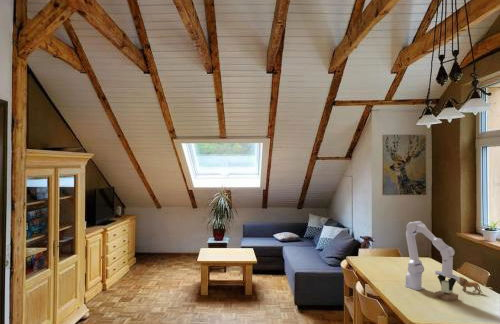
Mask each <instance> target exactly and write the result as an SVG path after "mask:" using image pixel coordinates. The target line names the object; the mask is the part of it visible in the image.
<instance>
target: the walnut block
mask: <svg viewBox="0 0 500 324" xmlns="http://www.w3.org/2000/svg"><path fill="white" fill-rule="evenodd" d="M434 295H435V297H434V298H437V299H440V300H443V301H445V302H448V303H450V302H454V301H458V300H459V294H458V293H455V292H451V293H446V292H443V291H441V290H438V291H435V293H434Z"/></svg>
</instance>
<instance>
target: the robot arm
mask: <svg viewBox="0 0 500 324" xmlns="http://www.w3.org/2000/svg"><path fill="white" fill-rule="evenodd" d="M405 227H406V231H405V237H406V244H407V250H408V254H409V261H408V262H407V266H408V267H407V273H406V275H405V285H404V286H405V287H406V288H409V289H412V290H415V291H419V290H424V289H425V287H424V286H423V285H422V282H423V281H422V279H423V278H422V277H423V276H422V275H423V273H424V272H425V267H424V265H423V262H422V261H421V260H420V259H419V258H420V257H419V252H418V246H417V245H418V244H417V241H416V235H417V234H418V233H419V234H420V233H422V235H424V236H425V237H426V238H428V239H429V240H430V241H431V243H432V244H431V245H433V246H434V247H435V248H436V250H438V251H439V252H440V256H441V259H442V260H441V261H442V262H441V264H442V265H441V271H439V270H435V272H434V273H435V275H437V279H438V280H439V283H440V285H441V283H442V281H445V280H446V278H448V279H447V281H449V290H450V291H451V290H452V289H454V285H455V284H456V282H457V281H459V280H460V277H461V276H457V275H456V274H453V267H454V266H453V265H454V257H453V256H455V253H456V251H455V249H454V248H453V247H452V246H449V244H446V242H444V240H443V238H440V237H436V236H435V235H434V234H433V232H431V230H430V229H429V228H428V227H427V226H426V224H425V223H423V221H421V220H416V221H409V222H408V223H407V224H406V225H405Z"/></svg>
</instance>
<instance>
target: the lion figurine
mask: <svg viewBox="0 0 500 324" xmlns="http://www.w3.org/2000/svg"><path fill="white" fill-rule="evenodd" d="M459 277H460V280H459V281H456V282H457V284H458V285H460V286H461V287H462V289H461V290H462V291H463V292H464V293H465V292H466V291H467V288H474V290H472V292H474V293H475V292H477V294H478V295H480V294H482V293H483V291H482V289H481V286H480V284H479V283H477V282H476V281H468V280H467V279H466V278H464V277H462V276H459Z"/></svg>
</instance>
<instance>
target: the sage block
mask: <svg viewBox="0 0 500 324" xmlns="http://www.w3.org/2000/svg"><path fill="white" fill-rule="evenodd" d="M440 288H441V290H440V291H443V292H446V293H451V292H453V291H454V290H453V289H454V288H453V289H452V290H451V291H450V290H449V281H448V279H445V281H442V283H441V284H440ZM453 293H454V292H453Z"/></svg>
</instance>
